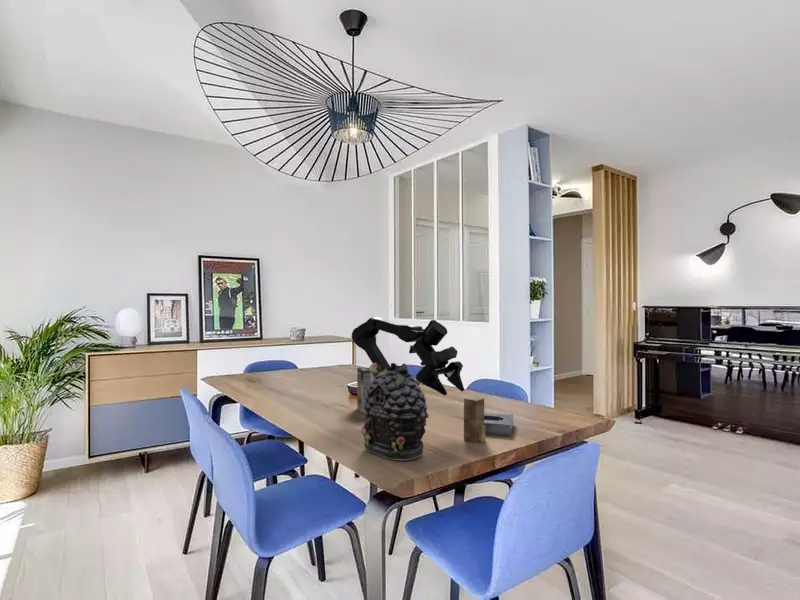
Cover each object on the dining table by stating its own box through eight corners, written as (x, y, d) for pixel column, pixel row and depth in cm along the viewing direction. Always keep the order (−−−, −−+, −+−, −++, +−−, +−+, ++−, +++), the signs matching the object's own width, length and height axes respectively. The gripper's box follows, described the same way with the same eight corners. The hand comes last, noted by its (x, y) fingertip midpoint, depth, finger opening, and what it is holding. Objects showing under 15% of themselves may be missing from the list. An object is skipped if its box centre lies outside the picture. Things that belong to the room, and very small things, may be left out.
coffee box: (356, 408, 178) (356, 367, 178) (372, 407, 180) (372, 367, 180) (361, 413, 169) (361, 370, 169) (378, 412, 171) (378, 370, 171)
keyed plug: (463, 439, 136) (463, 398, 137) (472, 436, 140) (472, 396, 140) (479, 443, 133) (479, 401, 133) (487, 440, 136) (487, 399, 136)
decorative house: (348, 450, 126) (349, 361, 126) (385, 438, 137) (385, 357, 138) (404, 468, 112) (405, 368, 112) (440, 453, 123) (440, 362, 124)
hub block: (465, 432, 145) (465, 421, 145) (472, 421, 158) (472, 411, 158) (510, 436, 140) (510, 425, 140) (513, 425, 154) (513, 414, 154)
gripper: (423, 340, 139) (452, 380, 131) (458, 337, 152) (486, 373, 145) (404, 363, 144) (430, 403, 136) (439, 358, 158) (466, 394, 150)
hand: (454, 392), depth 142 cm, fingers open, 9 cm apart
